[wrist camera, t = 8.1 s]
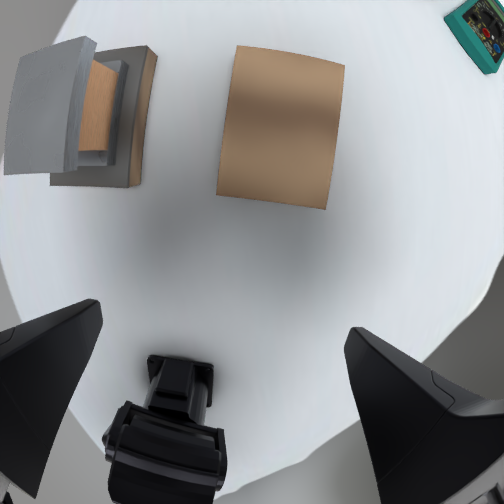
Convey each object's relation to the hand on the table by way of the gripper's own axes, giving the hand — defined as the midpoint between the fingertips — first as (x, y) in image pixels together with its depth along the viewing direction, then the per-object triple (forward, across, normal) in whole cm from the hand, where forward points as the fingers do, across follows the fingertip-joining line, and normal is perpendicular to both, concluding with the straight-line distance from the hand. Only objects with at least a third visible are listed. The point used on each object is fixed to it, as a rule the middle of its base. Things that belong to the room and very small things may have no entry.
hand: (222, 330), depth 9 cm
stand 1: (+12, +11, -8) cm, 18 cm away
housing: (+10, +11, -8) cm, 16 cm away
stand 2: (+12, -2, -8) cm, 15 cm away
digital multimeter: (+13, -24, -28) cm, 39 cm away
